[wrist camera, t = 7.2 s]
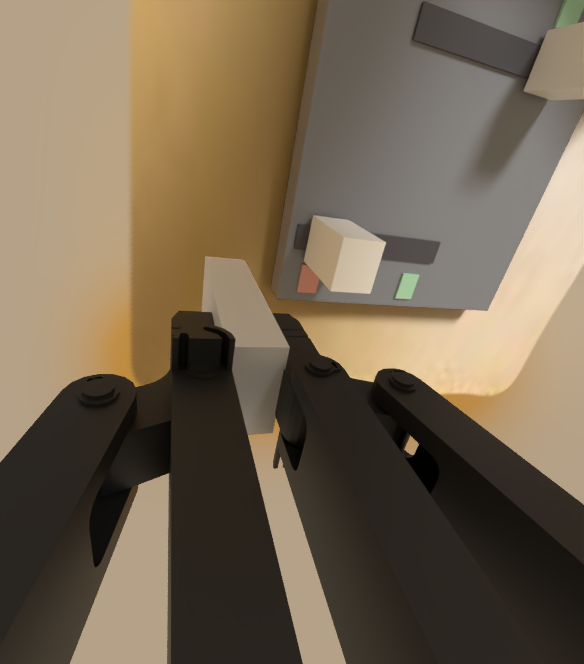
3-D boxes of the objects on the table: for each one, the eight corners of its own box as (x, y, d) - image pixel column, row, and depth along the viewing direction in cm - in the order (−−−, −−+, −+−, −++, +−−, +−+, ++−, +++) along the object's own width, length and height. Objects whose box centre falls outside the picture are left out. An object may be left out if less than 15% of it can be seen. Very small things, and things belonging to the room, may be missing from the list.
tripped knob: (313, 214, 23) (343, 237, 18) (348, 220, 23) (385, 242, 19) (303, 261, 24) (330, 291, 20) (337, 264, 25) (370, 293, 21)
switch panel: (337, -121, 17) (357, -150, 15) (605, 4, 23) (642, -5, 21) (270, 287, 27) (277, 300, 25) (471, 300, 33) (489, 311, 31)
